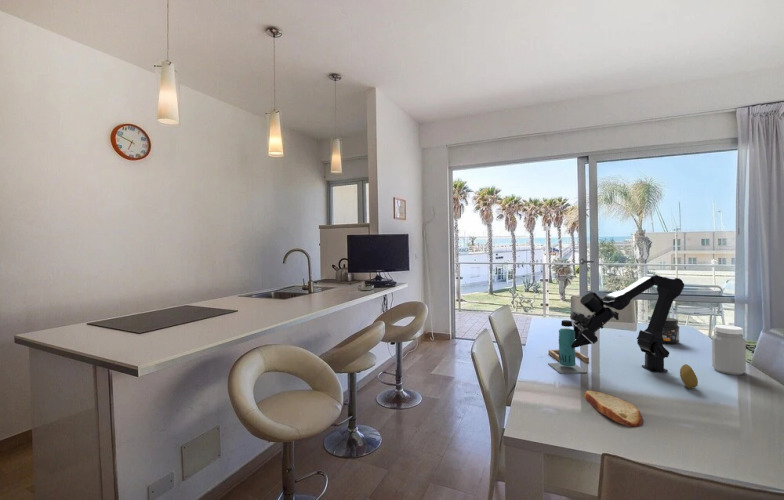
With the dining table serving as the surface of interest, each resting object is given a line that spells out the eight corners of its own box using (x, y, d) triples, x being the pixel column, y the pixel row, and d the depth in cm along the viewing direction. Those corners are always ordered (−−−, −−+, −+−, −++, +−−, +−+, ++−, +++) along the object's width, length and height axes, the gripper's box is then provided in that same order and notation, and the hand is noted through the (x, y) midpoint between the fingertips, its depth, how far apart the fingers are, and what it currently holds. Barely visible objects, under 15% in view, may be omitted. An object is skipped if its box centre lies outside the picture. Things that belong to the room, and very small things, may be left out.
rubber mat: (586, 373, 143) (586, 371, 143) (560, 373, 143) (560, 372, 143) (573, 363, 154) (573, 362, 154) (548, 364, 154) (548, 363, 154)
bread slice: (586, 393, 125) (586, 383, 125) (648, 408, 113) (648, 397, 113) (571, 412, 112) (571, 401, 112) (639, 432, 100) (639, 419, 100)
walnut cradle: (588, 362, 155) (588, 357, 155) (561, 363, 155) (560, 358, 155) (574, 353, 168) (574, 349, 168) (548, 354, 168) (548, 349, 168)
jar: (752, 376, 136) (752, 330, 135) (723, 375, 138) (723, 329, 137) (733, 367, 145) (733, 324, 145) (706, 366, 147) (706, 323, 147)
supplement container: (649, 340, 185) (649, 318, 185) (661, 338, 189) (660, 316, 189) (672, 345, 175) (672, 322, 175) (683, 342, 180) (683, 319, 180)
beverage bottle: (572, 364, 152) (571, 318, 151) (578, 370, 145) (578, 322, 145) (556, 364, 152) (555, 318, 152) (562, 370, 146) (561, 322, 145)
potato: (693, 392, 123) (692, 370, 123) (670, 384, 130) (670, 363, 130) (707, 390, 125) (707, 367, 125) (684, 382, 132) (684, 361, 132)
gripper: (578, 301, 155) (551, 324, 159) (587, 309, 137) (557, 335, 141) (599, 319, 153) (571, 343, 156) (611, 330, 135) (579, 356, 139)
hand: (569, 344), depth 148 cm, fingers open, 9 cm apart
